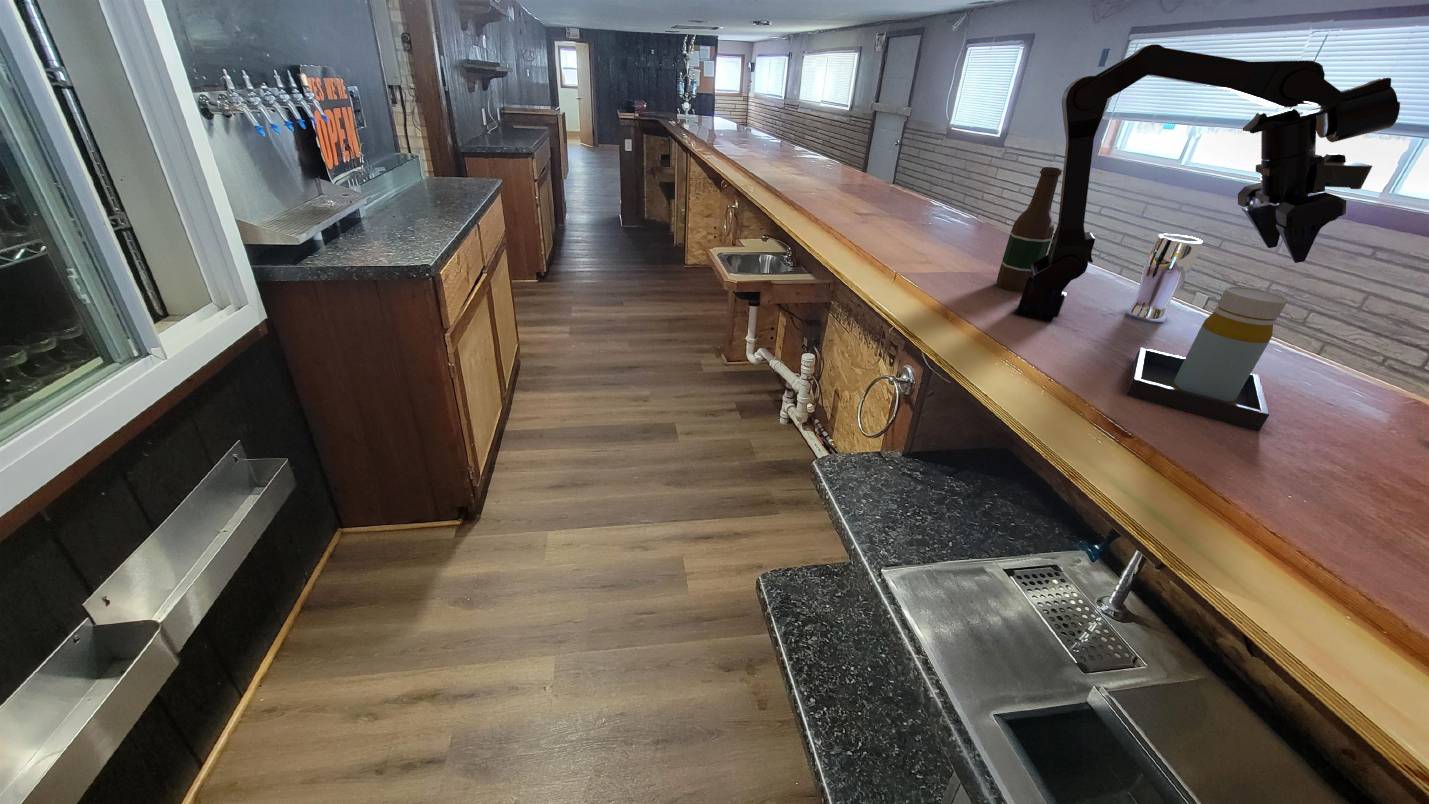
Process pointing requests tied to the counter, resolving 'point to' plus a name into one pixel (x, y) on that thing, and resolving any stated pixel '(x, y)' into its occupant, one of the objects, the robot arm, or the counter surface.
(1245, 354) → the bottle
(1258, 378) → the tray
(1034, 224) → the beer bottle
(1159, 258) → the beer glass
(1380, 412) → the counter surface
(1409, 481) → the counter surface
